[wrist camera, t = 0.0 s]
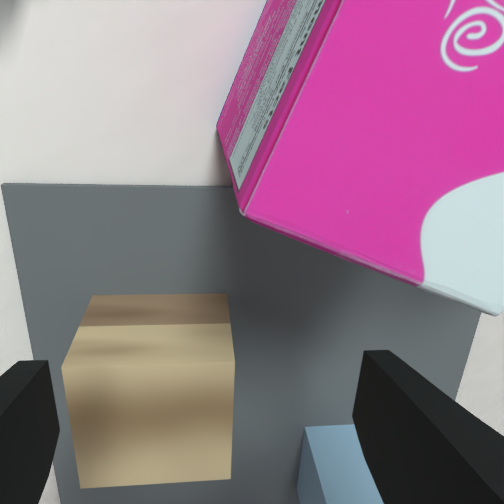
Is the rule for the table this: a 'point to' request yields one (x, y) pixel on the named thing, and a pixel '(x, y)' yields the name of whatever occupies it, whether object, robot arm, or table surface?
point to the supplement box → (378, 137)
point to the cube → (334, 468)
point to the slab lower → (156, 309)
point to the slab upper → (151, 403)
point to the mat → (241, 319)
